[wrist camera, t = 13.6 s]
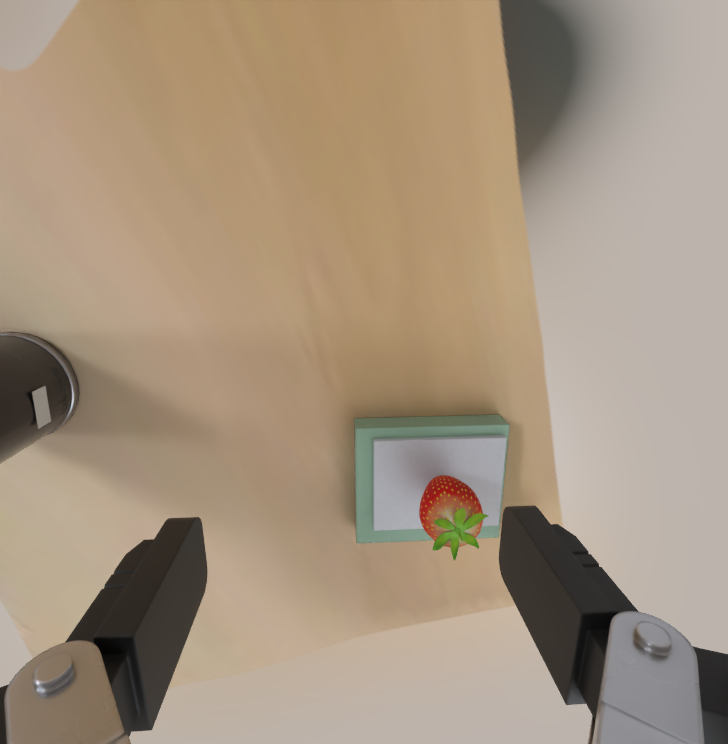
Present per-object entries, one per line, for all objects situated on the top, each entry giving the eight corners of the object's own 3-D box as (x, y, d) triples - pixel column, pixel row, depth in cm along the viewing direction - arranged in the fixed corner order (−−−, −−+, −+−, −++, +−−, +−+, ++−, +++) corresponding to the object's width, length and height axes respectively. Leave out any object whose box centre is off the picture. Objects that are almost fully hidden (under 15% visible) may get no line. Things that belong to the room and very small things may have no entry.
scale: (355, 529, 44) (356, 550, 41) (354, 418, 41) (355, 431, 38) (490, 524, 45) (500, 543, 42) (499, 414, 41) (512, 427, 38)
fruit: (475, 494, 40) (508, 553, 32) (425, 518, 40) (446, 582, 33) (451, 448, 39) (480, 498, 31) (400, 474, 39) (415, 529, 31)
